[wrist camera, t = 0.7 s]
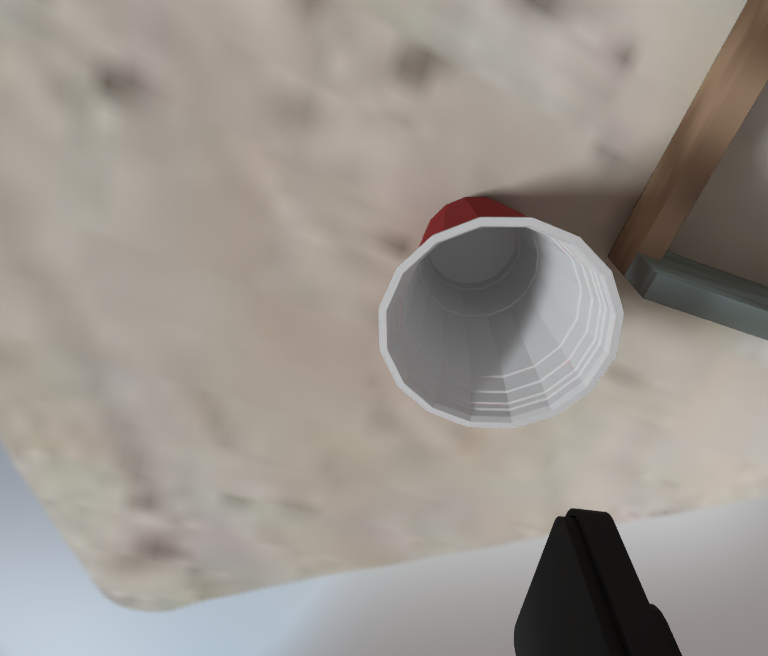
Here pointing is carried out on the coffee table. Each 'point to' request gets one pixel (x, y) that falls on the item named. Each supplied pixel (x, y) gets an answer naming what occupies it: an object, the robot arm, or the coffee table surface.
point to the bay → (700, 190)
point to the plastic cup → (498, 317)
